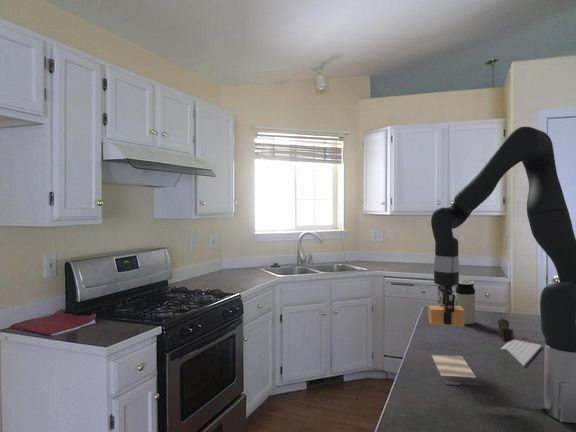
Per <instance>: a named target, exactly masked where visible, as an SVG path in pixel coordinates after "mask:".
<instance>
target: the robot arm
mask: <svg viewBox="0 0 576 432" xmlns="http://www.w3.org/2000/svg"><path fill="white" fill-rule="evenodd" d="M519 163H522V164H523V167H524V169H525V170H524V171H525V172H526V178H527V182H528V194H527V200H526V215H527V219H528V224H529V227H530V232H531V234H532V236H533V238H534V239H535V241H536V242H537V244H538V245H539V246H540V248H541V249H542V250H543V251H544V252H545V254H546V255H547V256H548V258H550V260H551V261H552V264H553V265H554V268H555V271H556V273H557V276H558V282H556V283H554V282H553V283H549V284H548V285H546V286H545V287H544V288H543V289H542V291H541V295H540V301H539V307H540V309H539V310H540V327H541V328H540V329H541V332H542V334H543V337H544V363H543V364H544V372H543V373H544V379H543V383H544V385H543V389H544V390H543V405H544V407H545V408H543V411H544V412H545V413H546V414H547V415H548V416H551V417H552V418H554V419H556V420H559V422H560V423H572V424H576V236H575V233H574V232H575V231H574V228H573V224H572V218H571V216H570V212H569V208H568V205H567V202H566V200H565V196H564V192H563V189H562V186H561V182H560V180H559V179H560V178H559V177H558V172H557V167H556V166H557V165H556V159H555V152H554V144H553V142H552V139H551V137H550V135H548V134H547V133H546V132H545V131H542V130H539V129H537V128H534V127H532V126H521V127H518V128H515V129H514V130H513V131H511V132H510V133H509V135H508V136H507V137H506V138H505V139H504V140H503V142H502V143H501V145H499V147H498V148H497V149H496V151H494V153H493V155H492V156H491V157H490V158H489V159H488V161H487V162H486V164H485V165H484V166H483V167H482V168H481V169H480V171H478V173H477V174H476V175H475V176H474V177H473V178H472V179H470V181H469V182H468V183H466V185H464V187H462V188H461V189H460V190H459V191H458V192H457V193H456V195H455V196H454V198H453V201H454V202H453V203H452V204H451V205H450V206H448V207H439V208H436V209H435V210H434V211H433V213H432V215H431V217H430V218H431V220H430V225H431V230H432V234H433V239H434V252H435V253H434V261H433V283H434V284H435V285H437V298H438V299H437V300H438V301H437V303H438V306H443V308H444V310H443V311H444V324H451V320H452V312H454V306H455V292H454V290H453V286H456V287H457V285H458V284H459V279H460V259H459V240H458V238H456V237H455V236H454V234H453V229H456V228H459V227H460V226H461V225H463V224H464V223H465V221H467V219H468V218H469V217H470V215H471V214H472V213H473V211H474V210H476V209H477V208H478V207H479V206H481V204H482V203H484V202H485V201H486V200H487V199H488V198H489V197H490V196H491V194H492V193H493V192H494V191H495V190H496V187H497V186H498V184H499V182H500V180H501V179H502V178H503V177H504V176H505V174H506V173H507V172H508V171H510V169H512V168H513V167H515V166H516V165H518V164H519ZM448 306H450V308H448Z"/></svg>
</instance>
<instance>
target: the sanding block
mask: <svg viewBox="0 0 576 432" xmlns="http://www.w3.org/2000/svg"><path fill="white" fill-rule="evenodd" d="M448 308H450V306H448ZM427 309H428V321H429V324H430V325H431V326H449V327H450V326H455V327H465V324H464V309H463V308H462V307H461V306H455V305H454V312H452V320H451V324H444V311H443V310H444V308H443V306H439V305H428V308H427Z"/></svg>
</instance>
